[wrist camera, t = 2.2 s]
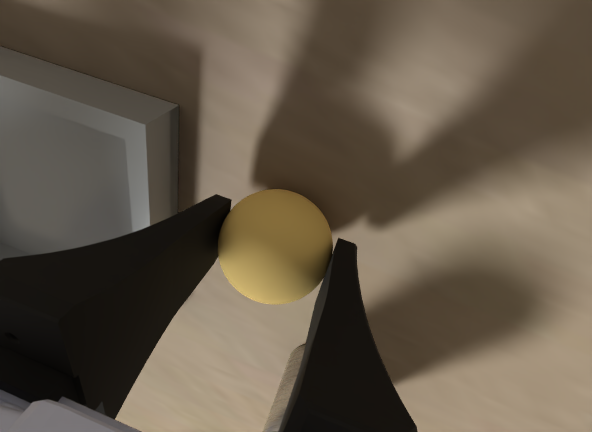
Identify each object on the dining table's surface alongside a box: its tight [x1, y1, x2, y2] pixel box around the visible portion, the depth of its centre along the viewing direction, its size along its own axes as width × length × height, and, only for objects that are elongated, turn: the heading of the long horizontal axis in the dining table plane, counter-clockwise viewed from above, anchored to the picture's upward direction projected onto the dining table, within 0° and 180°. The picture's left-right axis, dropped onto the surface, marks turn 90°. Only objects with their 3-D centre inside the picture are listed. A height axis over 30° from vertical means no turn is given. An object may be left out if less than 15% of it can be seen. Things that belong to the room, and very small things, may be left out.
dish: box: [0, 46, 179, 260], centre depth 17 cm, size 12×12×2 cm
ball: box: [218, 189, 333, 304], centre depth 13 cm, size 4×4×4 cm
